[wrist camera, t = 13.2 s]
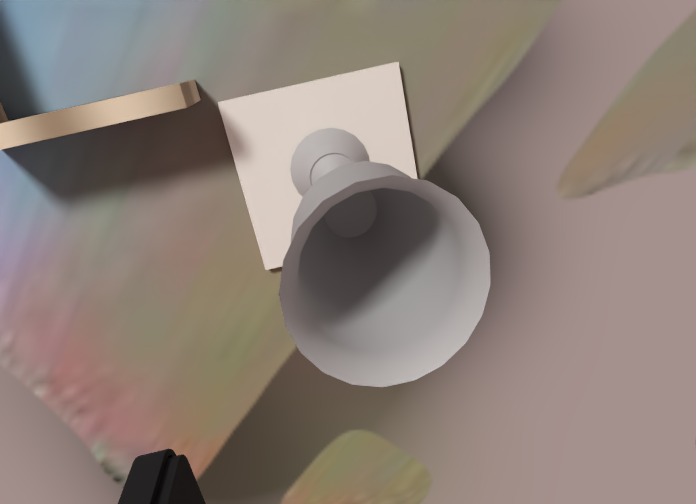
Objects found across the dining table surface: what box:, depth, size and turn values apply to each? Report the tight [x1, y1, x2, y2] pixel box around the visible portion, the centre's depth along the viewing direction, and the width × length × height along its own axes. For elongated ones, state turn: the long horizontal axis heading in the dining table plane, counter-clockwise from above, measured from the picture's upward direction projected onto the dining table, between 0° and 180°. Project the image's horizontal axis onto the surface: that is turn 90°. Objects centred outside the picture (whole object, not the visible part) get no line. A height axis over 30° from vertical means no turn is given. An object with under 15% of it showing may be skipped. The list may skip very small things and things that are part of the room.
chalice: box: [279, 128, 491, 387], centre depth 25 cm, size 7×7×18 cm
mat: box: [218, 62, 417, 270], centre depth 34 cm, size 11×11×1 cm
